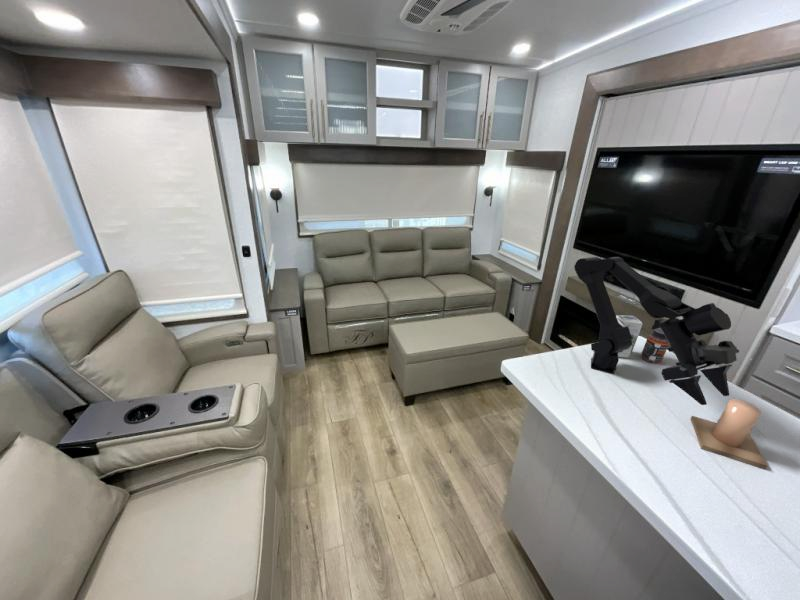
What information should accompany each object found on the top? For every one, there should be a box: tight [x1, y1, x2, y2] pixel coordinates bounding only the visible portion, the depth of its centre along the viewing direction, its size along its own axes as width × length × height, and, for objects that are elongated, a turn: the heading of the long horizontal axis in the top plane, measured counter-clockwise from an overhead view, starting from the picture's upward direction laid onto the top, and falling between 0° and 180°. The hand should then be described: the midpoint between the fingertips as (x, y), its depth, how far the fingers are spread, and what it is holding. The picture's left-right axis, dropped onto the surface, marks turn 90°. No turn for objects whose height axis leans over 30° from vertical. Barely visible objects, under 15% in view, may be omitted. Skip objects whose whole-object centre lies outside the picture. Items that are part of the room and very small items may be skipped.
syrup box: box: [615, 314, 644, 359], centre depth 109 cm, size 6×6×14 cm
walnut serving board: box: [690, 415, 768, 470], centre depth 76 cm, size 11×11×1 cm
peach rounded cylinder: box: [712, 398, 762, 447], centre depth 74 cm, size 5×5×10 cm
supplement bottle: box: [640, 328, 670, 364], centre depth 107 cm, size 6×6×11 cm
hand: (715, 400), depth 77 cm, fingers open, 9 cm apart
